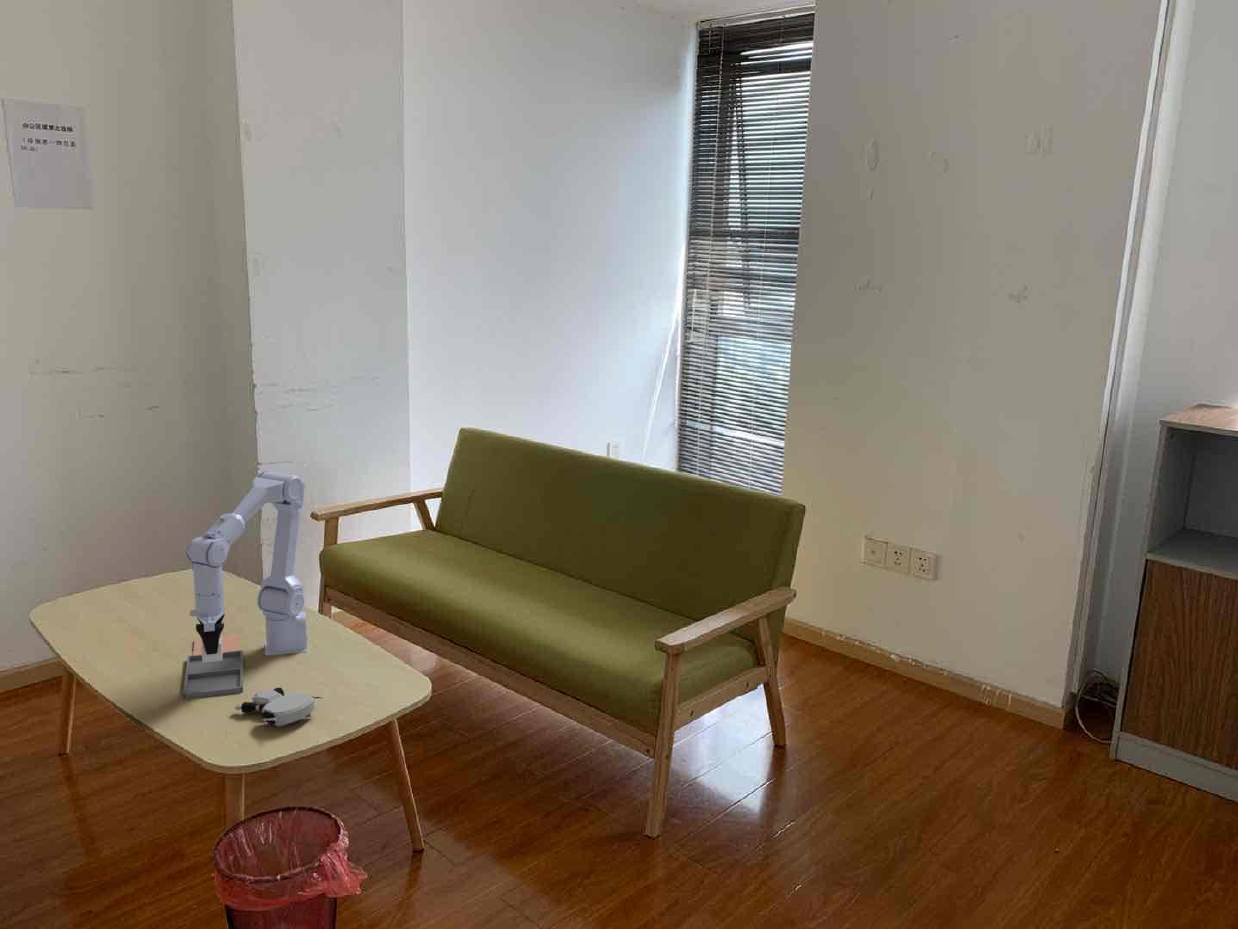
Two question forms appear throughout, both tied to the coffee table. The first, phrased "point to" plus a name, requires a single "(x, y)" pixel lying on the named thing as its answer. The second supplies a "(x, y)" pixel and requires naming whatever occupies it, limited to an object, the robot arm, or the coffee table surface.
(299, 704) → the robot toy
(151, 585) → the coffee table surface
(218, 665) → the sorting tray
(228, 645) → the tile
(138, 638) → the coffee table surface
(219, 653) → the letter cube
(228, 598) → the coffee table surface
